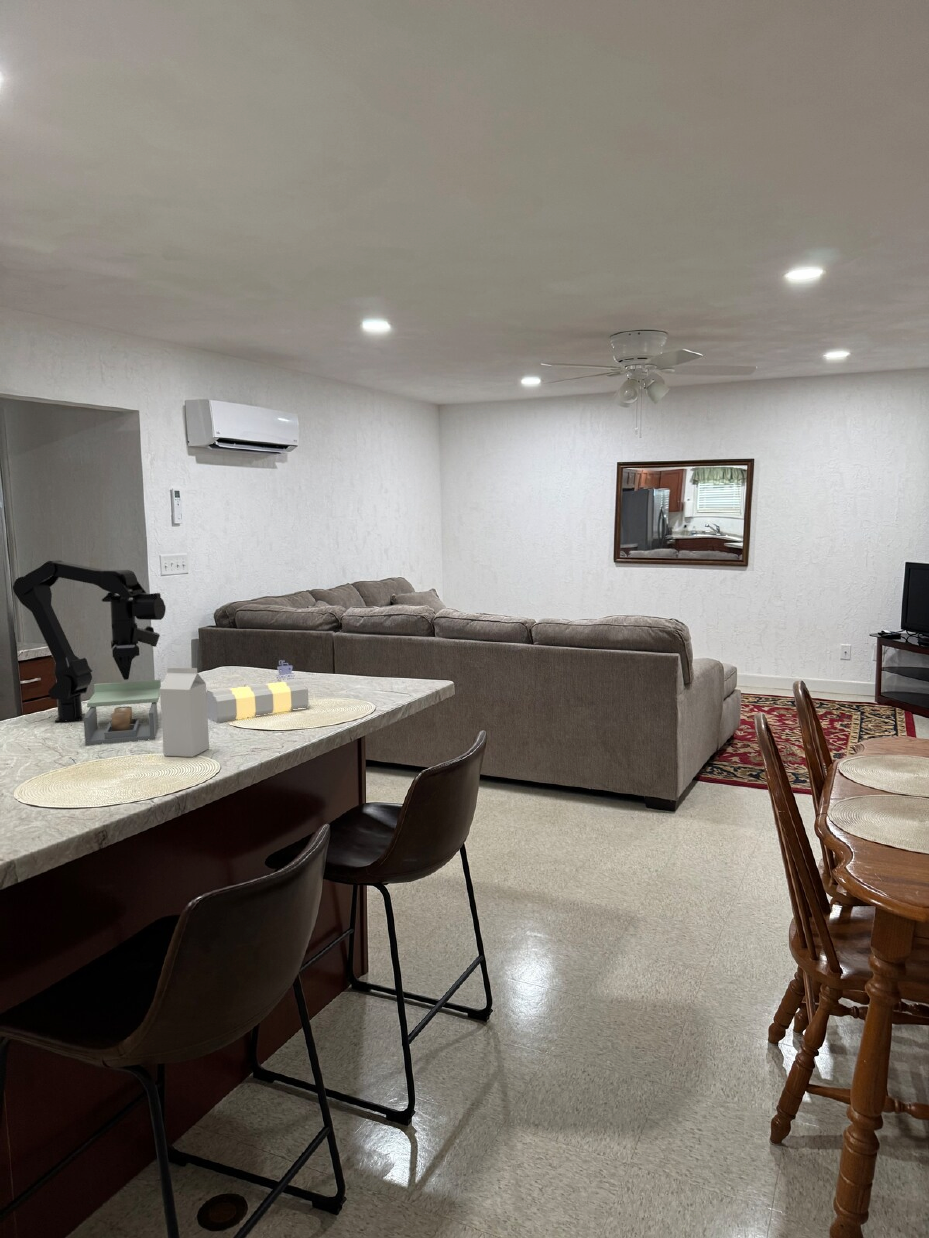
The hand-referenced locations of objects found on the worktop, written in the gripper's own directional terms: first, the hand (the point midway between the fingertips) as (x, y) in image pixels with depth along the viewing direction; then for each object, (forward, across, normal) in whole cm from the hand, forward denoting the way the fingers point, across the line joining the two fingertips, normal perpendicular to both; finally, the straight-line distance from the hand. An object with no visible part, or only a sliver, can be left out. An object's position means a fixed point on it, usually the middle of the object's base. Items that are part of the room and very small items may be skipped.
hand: (126, 679), depth 216 cm
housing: (+11, -16, +2) cm, 20 cm away
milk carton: (+10, -40, -11) cm, 42 cm away
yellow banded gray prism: (+11, -7, -32) cm, 34 cm away
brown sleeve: (+10, -20, +2) cm, 22 cm away
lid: (+4, -6, 0) cm, 7 cm away
